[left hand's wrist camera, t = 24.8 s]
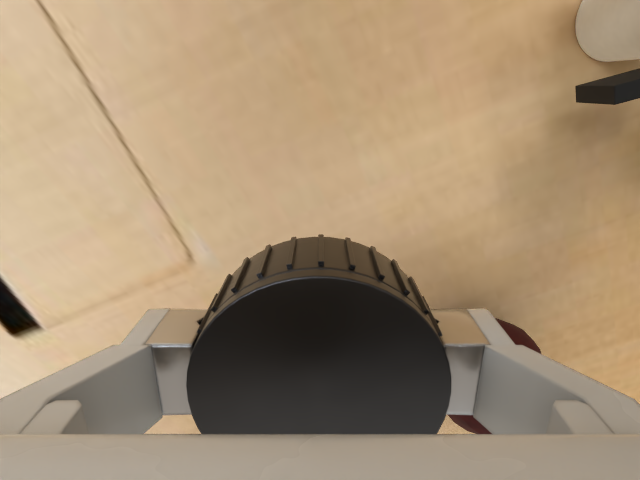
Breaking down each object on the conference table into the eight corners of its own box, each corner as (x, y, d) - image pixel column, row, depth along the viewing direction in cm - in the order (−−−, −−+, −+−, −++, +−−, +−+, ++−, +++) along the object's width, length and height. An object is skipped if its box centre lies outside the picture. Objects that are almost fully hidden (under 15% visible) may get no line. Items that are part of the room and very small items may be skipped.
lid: (377, 443, 11) (389, 519, 9) (186, 388, 11) (155, 458, 9) (467, 277, 10) (506, 326, 8) (245, 200, 9) (224, 231, 7)
